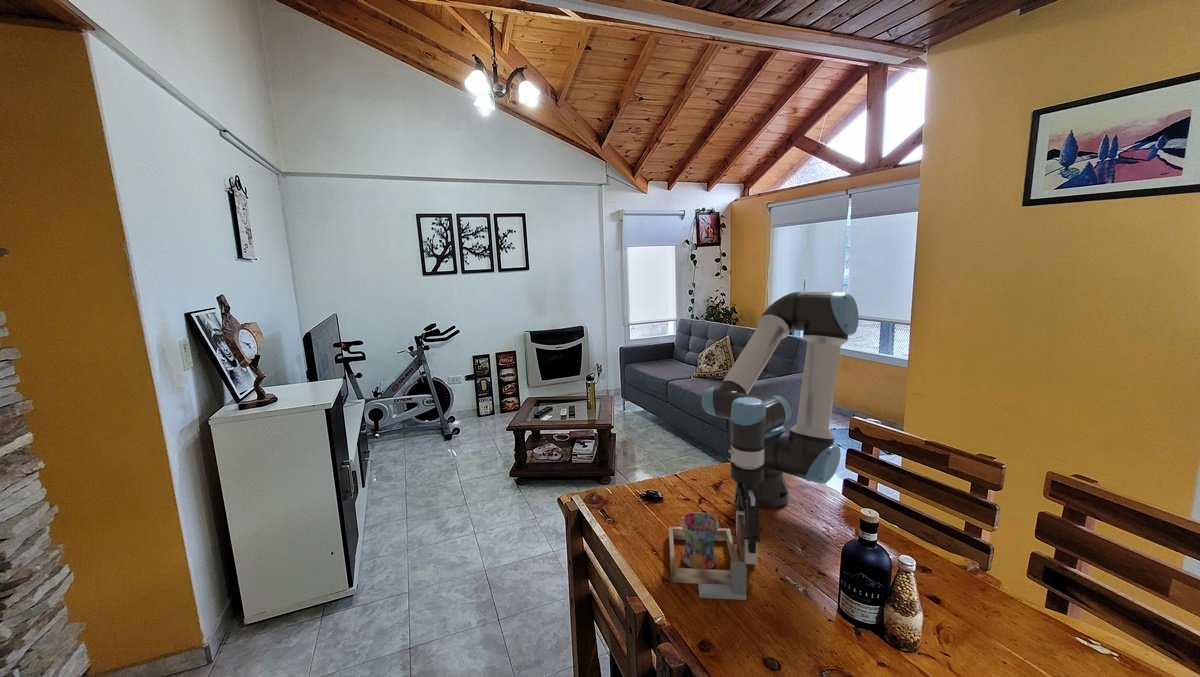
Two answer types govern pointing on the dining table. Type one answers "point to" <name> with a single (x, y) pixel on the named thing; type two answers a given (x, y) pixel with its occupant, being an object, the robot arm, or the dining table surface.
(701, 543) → the mug
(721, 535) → the open square frame
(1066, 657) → the dining table surface
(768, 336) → the robot arm
